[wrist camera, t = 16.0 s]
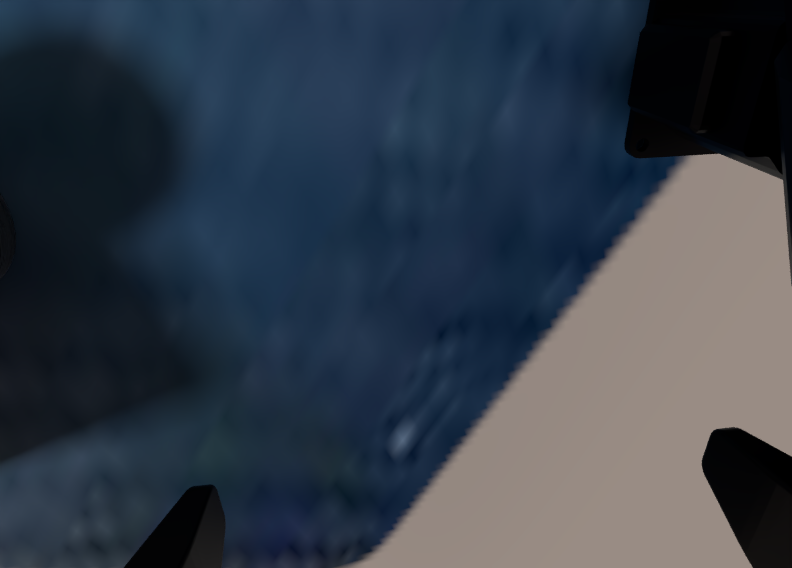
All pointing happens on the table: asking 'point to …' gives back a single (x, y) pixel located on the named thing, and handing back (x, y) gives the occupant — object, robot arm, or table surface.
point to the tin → (6, 238)
